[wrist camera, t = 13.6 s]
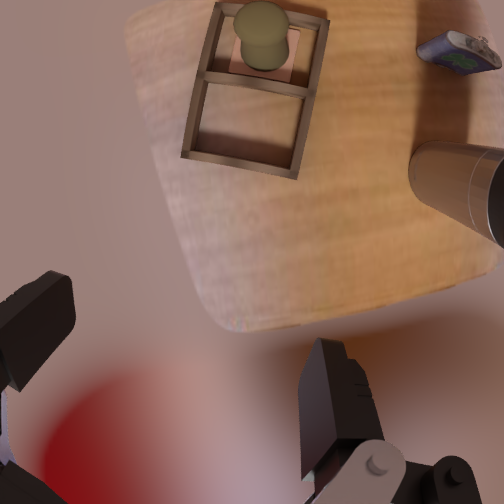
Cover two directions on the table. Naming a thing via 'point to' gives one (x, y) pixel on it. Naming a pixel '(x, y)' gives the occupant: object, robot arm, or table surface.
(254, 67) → the cork
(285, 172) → the caddy
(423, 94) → the table surface
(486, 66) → the flask
